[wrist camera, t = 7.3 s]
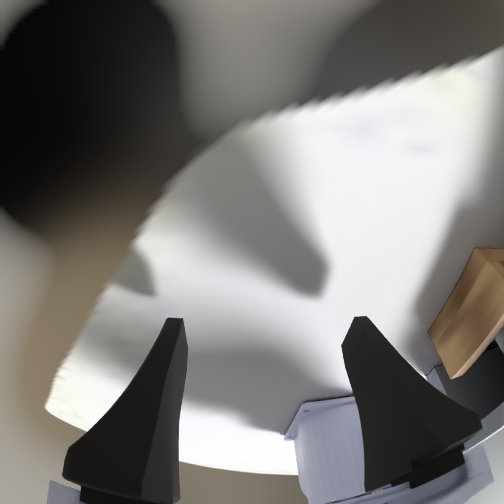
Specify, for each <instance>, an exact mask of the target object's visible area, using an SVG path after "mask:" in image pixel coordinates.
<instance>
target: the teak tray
mask: <svg viewBox="0 0 504 504" xmlns="http://www.w3.org/2000/svg"><path fill="white" fill-rule="evenodd" d="M428 335H429V337H430V339H431V341H432V343H433V345H434V347H435V348H436V350H437V352H438V354H439V356H440V358H441V360H442V362H443V364H444V367H445V369H446V371H447V373H448V375H449V377H450V379H453V378H456V377H459V376H462V375H463V374H464V373H465V372H466V371H467V370H468V369H469V368H470V367H471V365H472V364H473V363H474V362H475V361H476V360H477V359H478V357H479V356H480V355H481V354H482V353H483V351H484V350H485V349H486V348H487V347H488V345H489V344H490V343H491V342H494V341H496V342H497V343H498V345H499V347H500V349H501V350H502V352H503V354H504V249H490V248H475V249H474V251H473V253H472V255H471V257H470V260H469V262H468V264H467V266H466V268H465V270H464V272H463V274H462V275H461V277H460V279H459V281H458V283H457V285H456V287H455V288H454V290H453V292H452V294H451V296H450V297H449V299H448V301H447V302H446V304H445V306H444V307H443V309H442V311H441V312H440V314H439V316H438V317H437V319H436V320H435V322H434V324H433V325H432V327H431V328H430V330H429V331H428Z"/></svg>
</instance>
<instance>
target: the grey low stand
mask: <svg viewBox="0 0 504 504" xmlns="http://www.w3.org/2000/svg"><path fill="white" fill-rule="evenodd" d="M426 378H427V381H428V382H429V383H430V384H431V385H433V386H434V387H435V388H437V389H438V390H439V391H441V392H442V393H443V394H445V395H446V396H447V397H449V398H450V399H452V400H454V401H455V402H457V403H458V404H460V405H462V406H464V407H466V408H467V409H469V410H471V411H473V412H475V413H477V414H478V416H479V418H480V421H481V423H482V426H483V430H482V431H481V432H480V433H478V434H477V435H476V436H474V437H473V438H471V439H470V440H468V441H467V442H465V443H464V446H465V450H463V451H462V453H464V452H466V451H467V450H469V449H471V448H472V447H474V446H476V445H478V444H479V443H481V442H483V441H484V440H486V439H487V438H489V437H491V436H492V435H494V434H495V433H497V432H498V431H500V430H501V429H502V428H504V354H503V352H502V350H501V349H500V347H496V348H493V349H491V350H488V351H485V352H483V353H482V354H481V355H480V356H479V357H478V359H477V360H476V361H475V362H474V363H473V364H472V365H471V367H470V368H469V369H468V370H467V371H466V372H465V373H464V374H463V375H462V376H459V377H456V378H453V379H450V377H449V375H448V373H447V371H446V369H445V367H444V365H440V366H436V367H434V368H433V369H432V370H431V372H430V373H429V374H428V375H427V376H426Z"/></svg>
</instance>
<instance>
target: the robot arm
mask: <svg viewBox="0 0 504 504" xmlns="http://www.w3.org/2000/svg"><path fill="white" fill-rule="evenodd" d="M341 346H342V352H343V358H344V364H345V368H346V371H347V374H348V378H349V381H350V384H351V388H352V391H353V394H354V396H353V397H346V398H339V399H332V400H324V401H316V402H307V403H304V404H302V405H301V407H300V409H299V411H298V413H297V415H296V416H295V418H294V420H293V422H292V424H291V426H290V427H289V429H288V431H287V433H286V435H285V436H284V440H285V441H291V440H294V445H295V452H296V459H297V467H298V474H299V482H300V487H301V489H302V491H303V493H304V494H305V495H306V496H307V497H308V504H331V503H333V504H465V503H466V502H468V501H469V500H470V499H472V498H473V497H474V496H476V495H477V494H478V493H480V492H481V491H482V490H483V489H485V488H486V487H488V486H489V485H490V484H492V483H493V481H494V479H493V475H492V472H491V468H490V465H489V462H488V459H487V456H486V452H485V449H484V446H483V445H482V444H481V445H480V446H478V447H476V448H475V449H473V450H471V451H469V452H468V453H466V454H464V455H463V453H462V451H463V450H465V446H464V443H465V442H467V441H468V440H470V439H471V438H473V437H474V436H476V435H477V434H478V433H480V432H481V431H482V430H483V426H482V423H481V421H480V418H479V416H478V414H477V413H475V412H473V411H471V410H469V409H467V408H466V407H464V406H462V405H460V404H458V403H457V402H455V401H454V400H452V399H450V398H449V397H447V396H446V395H445V394H443V393H442V392H441V391H439V390H438V389H437V388H435V387H434V386H433V385H431V384H430V383H429V382H428V381H427V380H426V379H424V378H423V377H422V376H421V375H420V374H419V373H418V372H417V371H416V370H415V369H414V368H413V367H412V366H411V365H410V364H409V363H408V362H407V361H406V360H405V359H404V358H403V357H402V356H401V355H400V354H399V353H398V352H397V350H396V349H395V348H394V347H393V346H392V345H391V344H390V342H389V341H388V340H387V339H386V338H385V337H384V335H383V334H382V333H381V332H380V331H379V330H378V328H377V327H376V326H375V325H374V324H373V323H372V321H371V320H370V319H369V318H368V317H367V316H360V317H354V319H353V321H352V324H351V326H350V328H349V330H348V332H347V335H346V337H345V339H344V341H343V343H342V345H341ZM187 355H188V346H187V340H186V334H185V328H184V321H183V318H167V319H166V321H165V323H164V325H163V328H162V330H161V332H160V334H159V336H158V338H157V340H156V342H155V343H154V345H153V347H152V349H151V351H150V352H149V354H148V356H147V358H146V359H145V361H144V363H143V364H142V366H141V367H140V369H139V370H138V372H137V374H136V375H135V377H134V378H133V380H132V381H131V382H130V384H129V385H128V387H127V388H126V389H125V391H124V392H123V393H122V395H121V396H120V397H119V398H118V400H117V401H116V402H115V403H114V404H113V406H112V407H111V408H110V409H109V410H108V411H107V413H106V414H105V415H104V416H103V417H102V418H101V419H100V420H99V421H98V422H97V423H96V424H95V425H94V426H93V427H92V428H91V429H90V430H89V431H88V432H87V433H85V434H84V435H83V436H82V437H81V438H80V439H78V440H77V441H76V442H75V443H74V444H72V445H71V446H70V447H69V449H68V451H67V454H66V457H65V461H64V467H63V473H62V476H63V477H64V479H66V480H68V481H71V482H73V483H76V484H78V485H80V486H81V491H79V490H76V489H74V488H71V487H68V486H65V485H62V484H60V483H57V482H55V481H52V480H50V482H49V490H48V497H47V504H173V503H176V502H177V501H178V500H180V486H179V419H180V411H181V404H182V397H183V391H184V384H185V378H186V372H187ZM390 486H392V487H391V488H388V489H385V490H382V491H379V490H381V489H384V488H387V487H390ZM376 491H379V492H376ZM372 492H376V493H372ZM371 493H372V494H371Z"/></svg>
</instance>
